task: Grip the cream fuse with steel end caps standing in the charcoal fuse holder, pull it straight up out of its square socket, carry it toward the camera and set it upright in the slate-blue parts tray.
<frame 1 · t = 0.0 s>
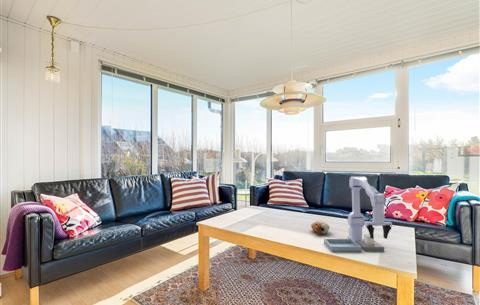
hand: (378, 238, 138), 10 cm above the table, tool pointing down, fingers open, 7 cm apart
fuse: (368, 241, 151), in the fuse holder
fuse holder: (369, 247, 151), on the table
nautilus: (318, 233, 180), on the table
parts tray: (341, 247, 151), on the table
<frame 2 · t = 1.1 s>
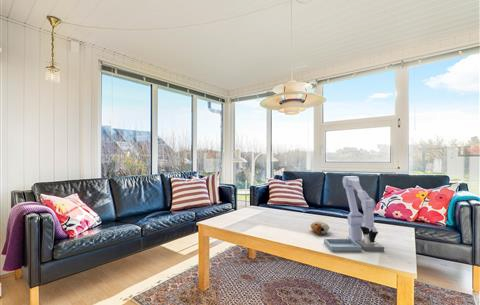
hand: (369, 240, 151), 5 cm above the table, tool pointing down, fingers open, 7 cm apart
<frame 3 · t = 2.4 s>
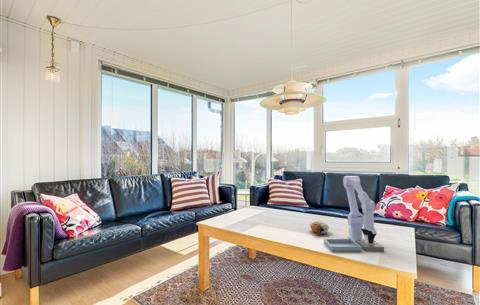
hand: (368, 242, 151), 3 cm above the table, tool pointing down, fingers closed on fuse, 4 cm apart
fuse: (368, 241, 151), in the fuse holder, touching gripper
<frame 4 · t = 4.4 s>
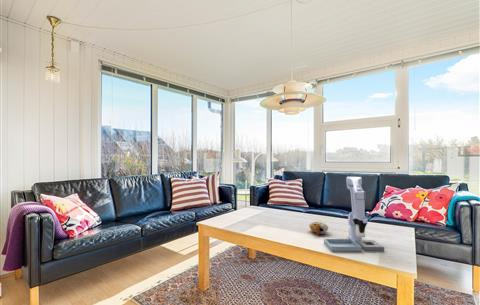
hand: (360, 231, 151), 10 cm above the table, tool pointing down, fingers closed on fuse, 4 cm apart
fuse: (360, 230, 151), point 10 cm above the table, touching gripper
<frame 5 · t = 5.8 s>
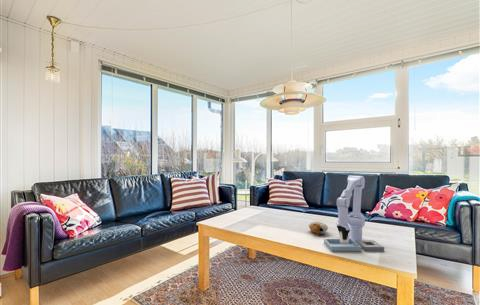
hand: (343, 238, 151), 6 cm above the table, tool pointing down, fingers closed on fuse, 4 cm apart
fuse: (344, 237, 151), point 6 cm above the table, touching gripper
when the fingers open (5 cm above the table, at t = 6.7 s): fuse drops 1 cm, resting on parts tray.
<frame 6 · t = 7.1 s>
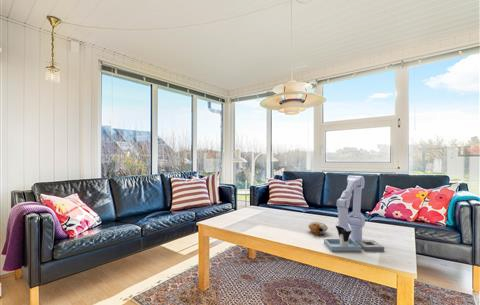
hand: (343, 239, 151), 5 cm above the table, tool pointing down, fingers open, 7 cm apart
fuse: (344, 240, 151), in the parts tray, point 4 cm above the table
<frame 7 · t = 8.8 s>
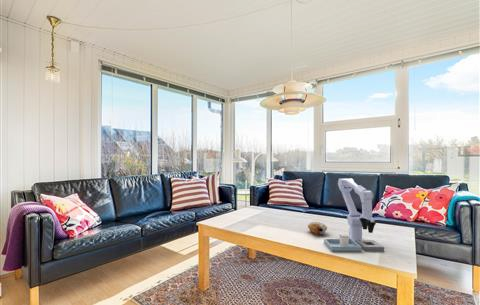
hand: (367, 230, 154), 10 cm above the table, tool pointing down, fingers open, 7 cm apart
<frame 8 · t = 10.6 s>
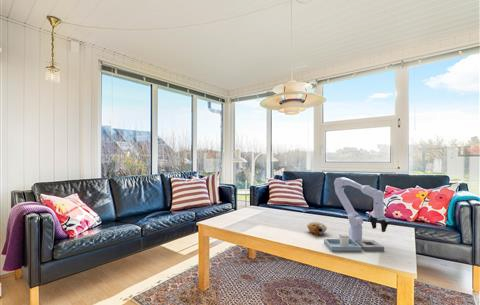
hand: (378, 230, 156), 9 cm above the table, tool pointing down, fingers open, 7 cm apart
at the end: fuse inside the target area on the parts tray (1.4 cm from its centre), point 4.1 cm above the parts tray's base; fuse tilted 0°; the gripper is holding nothing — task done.
